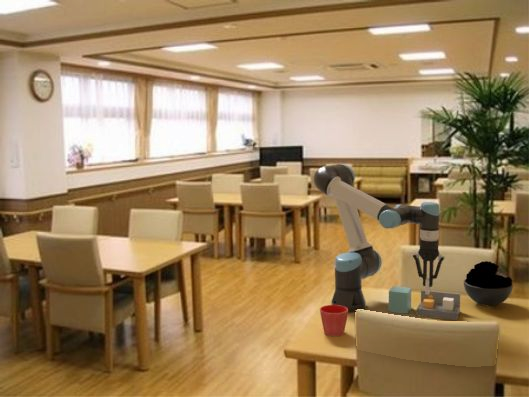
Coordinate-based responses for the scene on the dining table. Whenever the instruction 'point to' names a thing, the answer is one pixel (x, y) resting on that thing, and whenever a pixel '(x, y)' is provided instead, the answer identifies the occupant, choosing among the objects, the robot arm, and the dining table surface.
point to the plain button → (448, 303)
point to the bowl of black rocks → (487, 284)
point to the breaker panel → (439, 305)
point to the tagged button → (428, 303)
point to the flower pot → (334, 319)
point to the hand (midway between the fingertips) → (427, 293)
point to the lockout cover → (400, 299)
